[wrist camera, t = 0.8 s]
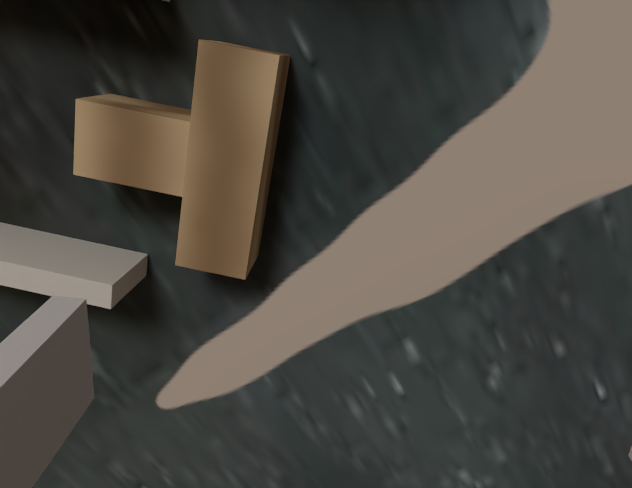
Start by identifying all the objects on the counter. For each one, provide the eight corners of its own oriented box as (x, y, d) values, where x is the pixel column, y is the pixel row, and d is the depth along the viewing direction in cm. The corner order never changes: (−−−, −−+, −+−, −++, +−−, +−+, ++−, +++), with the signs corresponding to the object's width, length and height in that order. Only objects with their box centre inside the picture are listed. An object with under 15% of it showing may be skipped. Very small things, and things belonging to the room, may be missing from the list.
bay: (172, -29, 29) (133, -45, 24) (146, 275, 35) (110, 309, 31) (-94, -80, 30) (-182, -106, 25) (-74, 227, 36) (-143, 253, 31)
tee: (290, 55, 30) (279, 55, 26) (258, 255, 34) (245, 279, 30) (114, 20, 30) (78, 15, 26) (103, 222, 34) (71, 243, 31)
